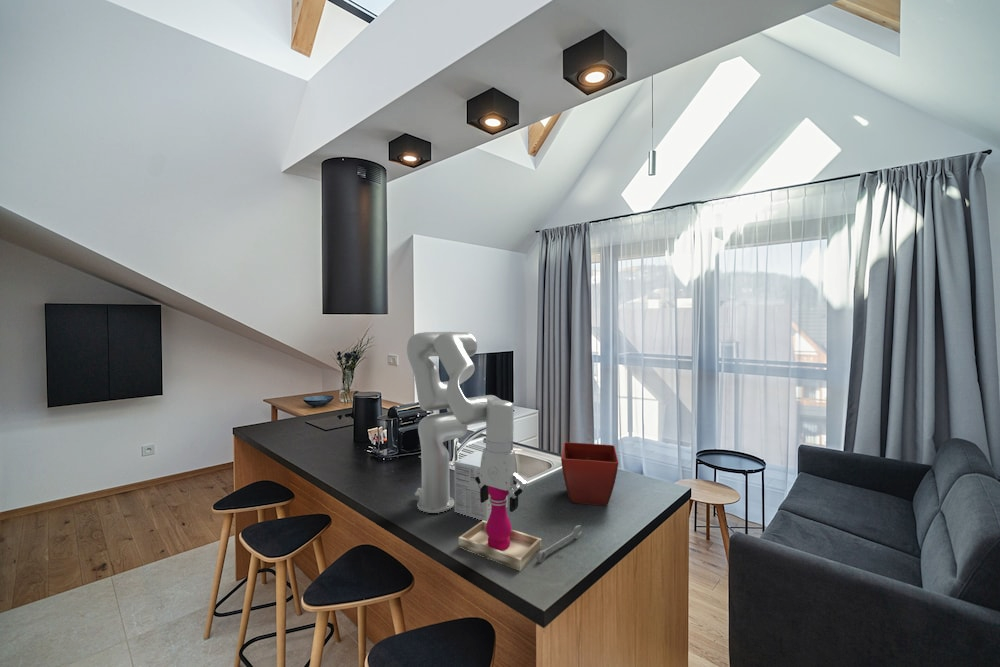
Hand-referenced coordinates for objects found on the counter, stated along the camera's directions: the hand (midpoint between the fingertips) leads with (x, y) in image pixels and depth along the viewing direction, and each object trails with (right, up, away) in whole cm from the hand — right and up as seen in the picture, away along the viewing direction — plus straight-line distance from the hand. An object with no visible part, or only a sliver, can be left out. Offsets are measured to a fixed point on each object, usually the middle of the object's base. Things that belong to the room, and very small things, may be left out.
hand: (498, 505), depth 116 cm
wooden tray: (0, -12, 0) cm, 12 cm away
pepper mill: (0, -11, 0) cm, 11 cm away
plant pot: (+33, -11, +34) cm, 48 cm away
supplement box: (-6, -12, +24) cm, 27 cm away
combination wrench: (+18, -13, 0) cm, 22 cm away
